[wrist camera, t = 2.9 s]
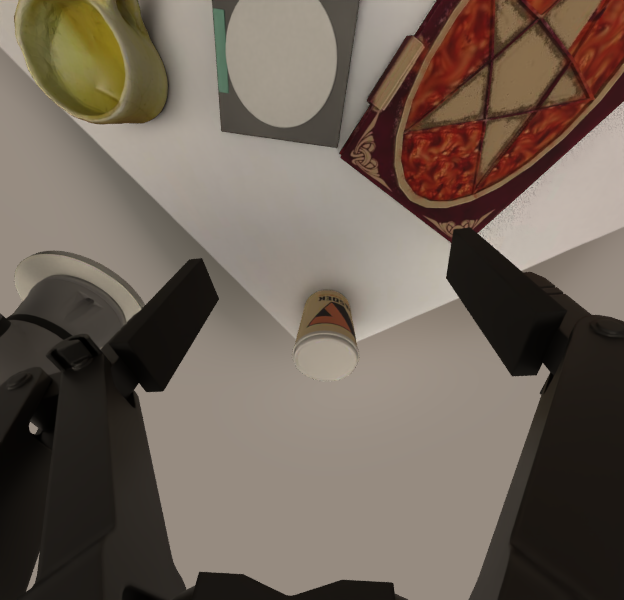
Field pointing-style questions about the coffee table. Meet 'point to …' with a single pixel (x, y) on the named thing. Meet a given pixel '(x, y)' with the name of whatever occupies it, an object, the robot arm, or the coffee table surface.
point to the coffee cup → (326, 338)
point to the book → (487, 103)
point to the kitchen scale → (284, 67)
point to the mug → (93, 58)
